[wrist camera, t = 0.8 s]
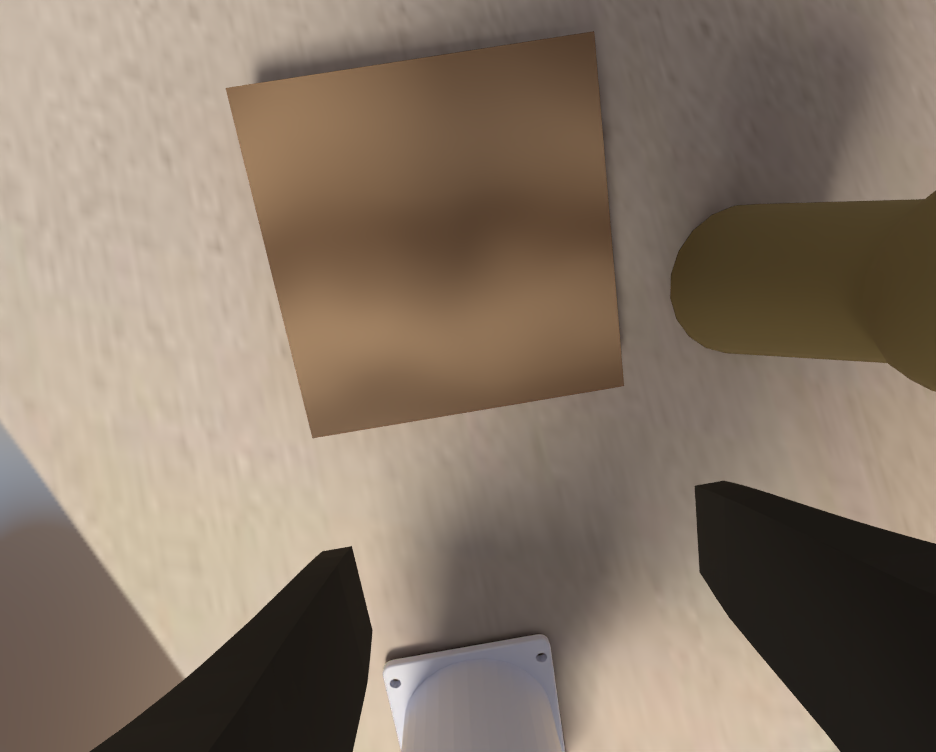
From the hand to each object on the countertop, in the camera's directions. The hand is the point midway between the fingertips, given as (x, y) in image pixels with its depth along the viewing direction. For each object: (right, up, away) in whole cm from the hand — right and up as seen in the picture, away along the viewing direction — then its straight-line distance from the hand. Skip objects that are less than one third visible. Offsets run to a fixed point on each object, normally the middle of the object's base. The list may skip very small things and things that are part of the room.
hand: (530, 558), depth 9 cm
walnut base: (-2, +9, +9) cm, 12 cm away
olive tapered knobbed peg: (+10, +8, +10) cm, 16 cm away
